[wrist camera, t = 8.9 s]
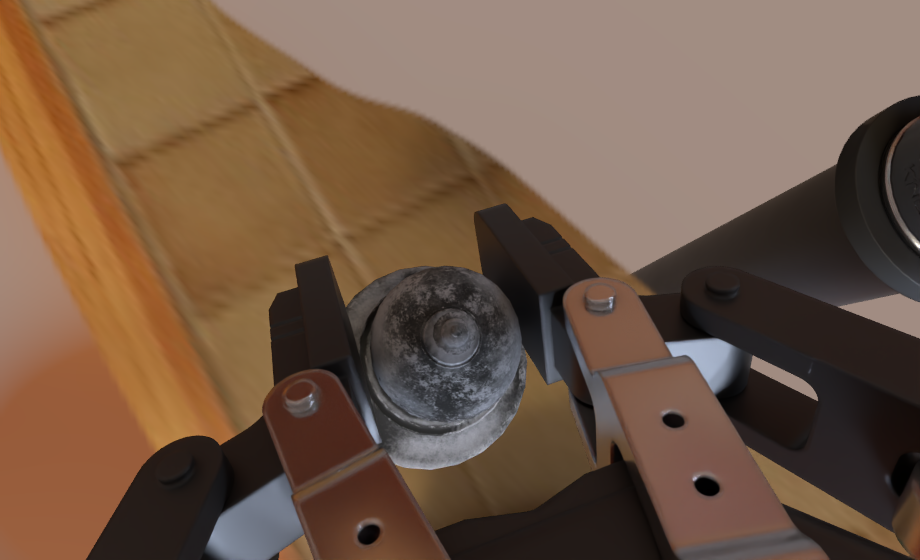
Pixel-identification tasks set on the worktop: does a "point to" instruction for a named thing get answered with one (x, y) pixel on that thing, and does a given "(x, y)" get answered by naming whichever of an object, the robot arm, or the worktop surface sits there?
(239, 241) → the worktop surface
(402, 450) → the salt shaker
